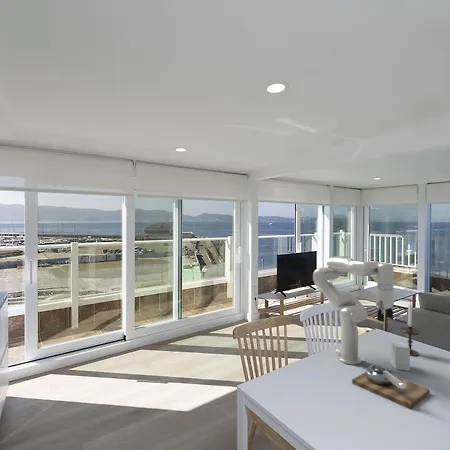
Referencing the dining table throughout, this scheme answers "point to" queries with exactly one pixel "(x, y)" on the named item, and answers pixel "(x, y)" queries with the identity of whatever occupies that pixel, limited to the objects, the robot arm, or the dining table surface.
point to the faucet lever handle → (383, 377)
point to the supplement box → (400, 356)
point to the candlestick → (410, 330)
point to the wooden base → (395, 391)
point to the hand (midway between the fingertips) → (385, 319)
